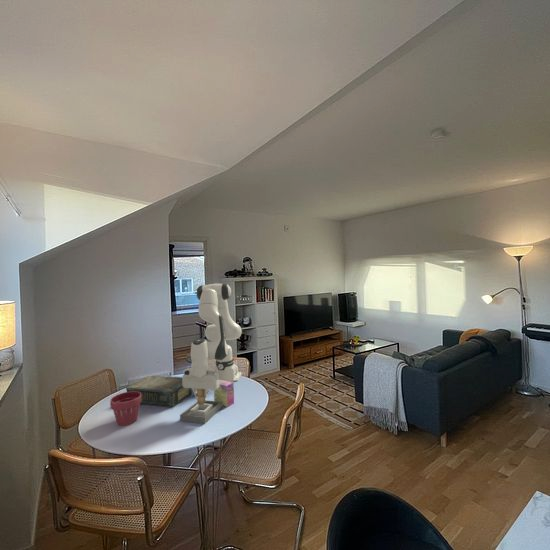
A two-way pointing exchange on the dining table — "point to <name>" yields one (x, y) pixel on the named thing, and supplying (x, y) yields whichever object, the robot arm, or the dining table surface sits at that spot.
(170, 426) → the dining table surface
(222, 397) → the box
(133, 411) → the plant pot
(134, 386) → the metal box
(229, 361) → the robot arm
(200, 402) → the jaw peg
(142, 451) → the dining table surface
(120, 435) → the dining table surface
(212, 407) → the housing
